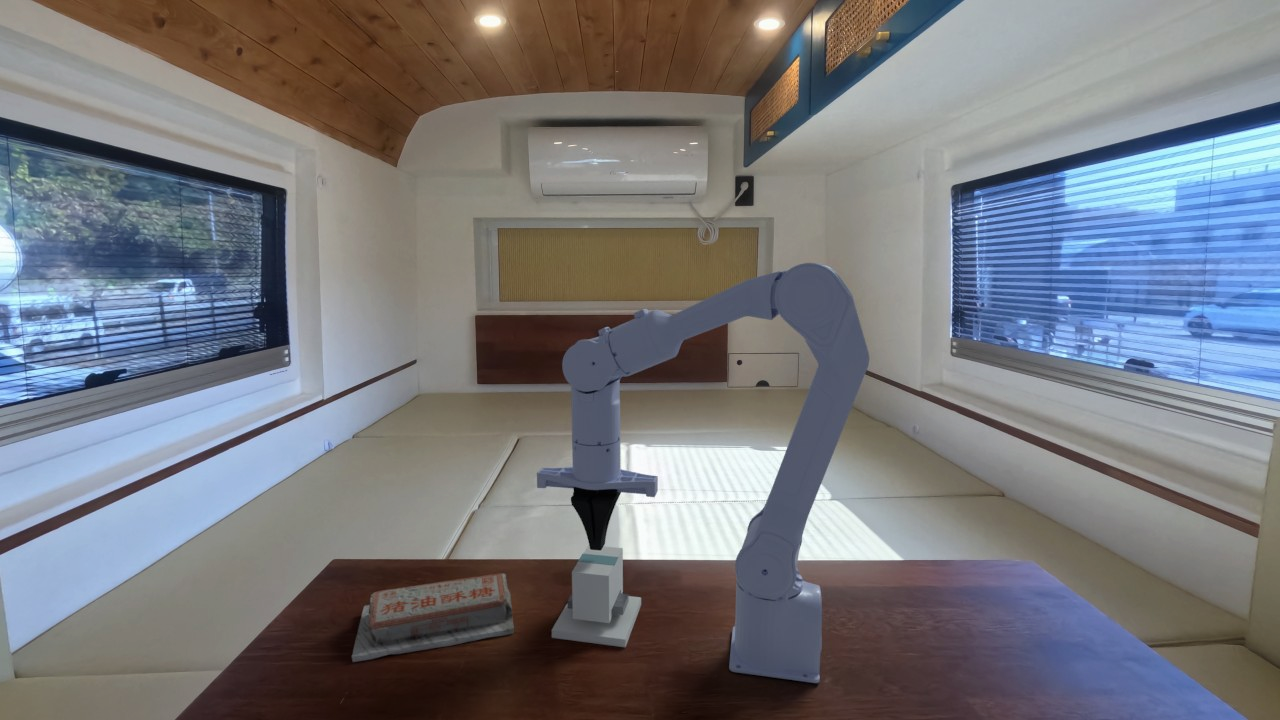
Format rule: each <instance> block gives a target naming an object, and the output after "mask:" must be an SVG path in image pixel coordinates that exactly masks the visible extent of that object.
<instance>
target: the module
mask: <svg viewBox="0 0 1280 720" xmlns="http://www.w3.org/2000/svg"><path fill="white" fill-rule="evenodd" d="M623 549H624V548H623V547H614V546H605V545H604V546H603V548H602V550H590V546H589V544H588V545H587V546H586V548H585V550H584V552H583V553H582V554H581V555H580V557H579V559H578V561H577V563H576V565H575V566H574V568H573V569H572V571H571V589H572V590H571V591H572V593H571V594H572V604H573V619H579V620H587V621H595V622H603V623H610V621H611V610H612V608H613V606H614V603H615V601H616V599H617V597H618V594H619V593H623V592H624V577H623V575H624V572H623V569H624V568H623V566H624V565H623V562H624V560H623V559H624V556H623V555H624V554H623V553H624V550H623Z"/></svg>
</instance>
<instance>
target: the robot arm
mask: <svg viewBox="0 0 1280 720" xmlns="http://www.w3.org/2000/svg"><path fill="white" fill-rule="evenodd" d="M856 307H857V306H856V304H855V301H854V297H853V294H852V292H851V291H850V290H849V287H848V286H847V285H846V284H845V282H844V280H842V278H841V276H840V275H839V273H837V271H835V270H834V269H833V268H832V267H830V266H828V265H826V264H824V263H820V262H819V263H818V262H804V263H799V264H796V265H794V266H793V267H790V268H789V269H788V270H779V271H775V272H771V273H770V272H769V273H767V274H764V275H760V276H756V277H752V278H749V279H746V280H743V281H741V282H740V283H737V284H735V285H733V286H731V287H729V288H726V289H725V290H722V291H720V292H719V293H716V294H714V295H711V296H710V297H707V298H705V299H703V300H702V301H699V302H697V303H694V304H693V305H691V306H688V307H686V308H685V309H682V310H680V311H678V312H676V313H673V314H670V313H666V312H665V311H663V310H660V309H653V310H650V311H649V310H648V309H647V308H641V309H640V310H638V311H636V312H634V313H633V316H634V318H633V319H631V320H628V321H626V322H624V323H622V324H619V325H617V326H615V327H613V328H610V326H606V327H603V328H601V329H598V331H597V332H598V335H599V336H596V337H593V338H590V339H579V340H577V342H575V343H574V344H572V345H571V346H570V347H569V348H568V349H567V350H566V352H565V354H564V355H563V358H562V364H561V365H562V373H563V376H564V378H565V380H566V381H567V383H568V384H569V385H570V387H571V388H570V390H571V392H570V393H571V394H570V395H571V396H570V398H571V444H572V447H571V448H572V449H571V451H572V466H570V467H568V466H566V467H542V468H540V470H539V471H537V472H536V487H537V489H546V488H548V487H550V488H551V487H552V488H563V489H572V490H573V492H572V495H571V498H570V502H571V506H572V507H573V509H574V510H575V511H576V513H577V515H578V517H579V519H580V521H581V523H582V525H583V528H584V532H585V534H586V538H587V541H588V545H589V546H590V550H602V548H603V546H605V544H606V539H607V532H608V527H609V524H610V520H611V517H612V515H613V512H614V509H615V507H616V505H617V502H618V500H619V497H620V495H621V493H625V494H637V495H638V494H639V495H645V496H646V497H648V498H649V497H650V498H655V497H656V495H657V493H658V489H659V488H658V485H659V484H658V482H659V480H658V479H659V477H658V475H650V474H645V473H640V472H635V471H630V470H625V469H622V468H621V400H620V398H621V396H620V394H621V393H620V391H621V390H620V389H621V387H620V385H621V384H620V381H621V379H622V377H624V378H625V377H630V376H632V375H634V374H637V373H640V372H642V371H645V370H647V369H650V368H652V367H654V366H657V365H660V364H661V363H664V362H667V361H669V360H672V359H674V358H676V357H677V355H678V354H679V351H680V348H681V345H682V343H683V342H684V340H688V339H691V338H693V337H695V336H698V335H700V334H704V333H706V332H708V331H709V332H710V331H711V330H713V329H717V328H720V327H721V326H725V325H727V324H729V323H732V322H735V321H737V320H740V319H742V318H746V317H751V318H755V319H756V318H757V319H763V320H769V321H772V320H774V319H775V318H776V317H778V316H779V315H780V317H781V318H782V319H783V320H784V322H786V323H787V324H788V325H789V326H790V328H792V329H793V330H794V331H796V332H797V333H798V334H799V335H800V336H801V337H802V338H803V339H805V343H806V345H807V347H808V348H809V350H810V352H811V353H812V355H813V357H814V359H815V361H816V362H817V364H818V365H817V368H816V371H815V374H814V376H813V378H812V381H811V385H810V386H809V389H808V391H807V394H806V396H805V399H804V402H803V405H802V406H801V407H802V408H801V410H800V413H799V415H798V419H797V421H796V424H795V426H794V429H793V432H792V435H791V436H790V439H789V442H788V443H787V444H788V445H787V447H786V450H785V452H784V456H783V458H782V461H781V463H780V467H779V469H778V470H777V474H776V477H775V478H774V481H773V485H772V486H771V490H770V493H769V494H768V497H767V499H766V501H765V504H764V506H763V508H762V509H761V510H760V511H759V512H758V513H757V514H755V515H754V516H753V517H752V518H751V519H750V521H749V523H748V526H747V530H746V531H747V532H746V535H745V539H744V541H743V544H742V546H741V549H740V550H739V551H738V553H737V556H736V559H735V563H734V568H735V569H734V570H735V575H736V581H735V582H736V585H735V618H734V619H735V622H734V623H735V625H734V626H732V633H731V641H730V642H731V643H730V655H729V665H728V668H729V670H730V671H731V672H732V673H739V674H744V675H745V674H746V675H751V676H752V675H755V676H761V677H768V678H776V679H783V680H789V681H790V680H792V681H797V682H805V683H810V684H811V683H812V684H818V683H820V667H821V652H822V650H823V649H822V647H823V646H822V645H823V639H822V638H823V637H822V627H823V605H822V602H823V601H822V591H821V587H820V585H818V584H815V583H811V582H807V581H805V580H803V576H802V575H801V574H800V571H799V569H798V560H799V554H800V550H801V546H802V543H803V534H804V531H805V528H806V523H807V521H808V518H809V515H810V513H811V510H812V508H813V505H814V503H815V500H816V497H817V494H818V492H819V490H820V489H821V485H822V483H823V480H824V478H825V475H826V473H827V470H828V467H829V465H830V462H831V460H832V457H833V455H834V452H835V450H836V447H837V445H838V443H839V440H840V437H841V435H842V432H843V430H844V428H845V426H846V423H847V420H848V418H849V414H850V412H851V410H852V409H853V408H852V407H853V406H854V402H855V401H856V398H857V395H858V393H859V390H860V388H861V384H862V383H863V380H864V378H865V375H866V374H867V373H866V372H867V370H868V367H869V363H870V354H869V350H868V346H867V342H866V339H865V335H864V332H863V329H862V325H861V322H860V317H859V314H858V310H857V308H856Z"/></svg>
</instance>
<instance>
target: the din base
mask: <svg viewBox="0 0 1280 720" xmlns="http://www.w3.org/2000/svg"><path fill="white" fill-rule="evenodd" d="M641 607H642V597H639V596H631V595H629V602H628V604H627V607H626V609H625V611H624V614H623V615H618V614H611V621H610V623H603V622H595V621H587V620H579V619H573V609H569V608H568V603H567V602H566V604H565V606H564V608H563V610H562V611H561V613H560V615H559V616H558V619H557V620H556V621H555V623H554V625H553V627H552V629H551V638H552V639H559V640H566V641H567V640H568V641H575V642H582V643H589V644H590V643H591V644H597V645H604V646H614V647H619V648H626V647H627V645H628V642H629V639H630V636H631V634H632V630H633V628H634V625H635V623H636V619H637V618H638V614H639V612H640V609H641Z"/></svg>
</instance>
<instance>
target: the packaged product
mask: <svg viewBox="0 0 1280 720" xmlns="http://www.w3.org/2000/svg"><path fill="white" fill-rule="evenodd" d="M511 597H512V595H511V592H510V589H509V588H508V583H507V574H506V573H495V574H486V575H481V576H480V575H479V576H471V577H466V578H465V577H464V578H463V577H462V578H457V579H456V578H455V579H451V580H443V581H437V582H431V583H425V584H417V585H411V586H406V587H397V588H389V589H385V590H378V591H375V592H373V593H372V594H370V597H369V604H368V605H367V604H365V605H364V606H363V609H362V613H361V617H360V620H359V625H358V629H357V634H356V637H355V641H354V646H353V649H352V655H351V660H352V663H356V662H362V661H368V660H375V659H378V658H382V657H385V656H390V655H401V654H405V653H406V654H407V653H414V652H419V651H425V650H431V649H435V648H443V647H444V648H445V647H449V646H456V645H460V644H463V643H464V644H465V643H468V642H469V643H470V642H475V641H478V640H483V639H488V638H495V637H503V636H508V635H513V634H514V632H515V627H514V618H513V607H512V606H513V605H512V598H511Z"/></svg>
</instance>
